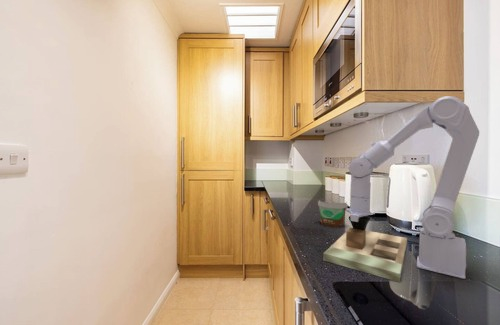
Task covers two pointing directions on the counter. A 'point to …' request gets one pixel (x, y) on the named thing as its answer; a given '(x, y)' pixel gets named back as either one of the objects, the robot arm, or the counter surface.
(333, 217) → the food container
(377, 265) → the board
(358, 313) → the counter surface
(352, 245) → the block
